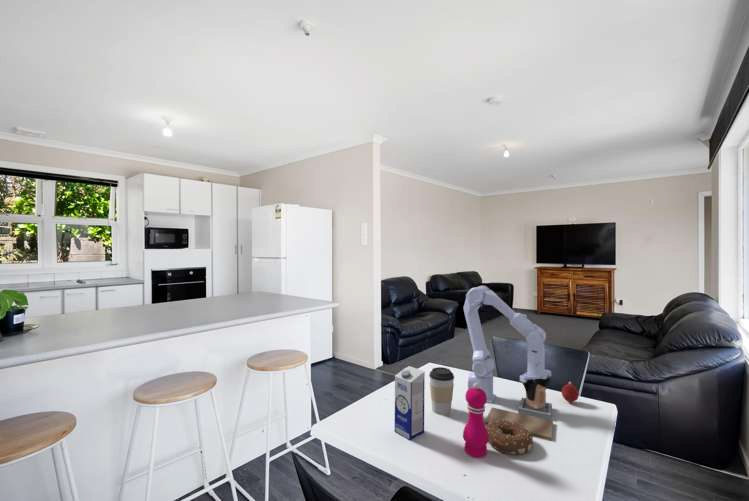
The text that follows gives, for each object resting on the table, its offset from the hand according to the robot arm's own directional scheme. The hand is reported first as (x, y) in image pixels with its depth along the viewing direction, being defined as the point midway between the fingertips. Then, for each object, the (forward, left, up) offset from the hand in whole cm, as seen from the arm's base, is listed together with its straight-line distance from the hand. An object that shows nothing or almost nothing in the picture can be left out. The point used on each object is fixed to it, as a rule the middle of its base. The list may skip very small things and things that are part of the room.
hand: (535, 398), depth 127 cm
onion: (+11, +14, -5) cm, 18 cm away
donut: (-5, -28, -5) cm, 29 cm away
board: (-4, -14, -4) cm, 15 cm away
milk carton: (-34, -37, -5) cm, 50 cm away
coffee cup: (-30, -17, -5) cm, 35 cm away
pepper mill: (-13, -37, -5) cm, 39 cm away
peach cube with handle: (0, 0, -2) cm, 2 cm away
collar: (0, 0, -4) cm, 4 cm away
